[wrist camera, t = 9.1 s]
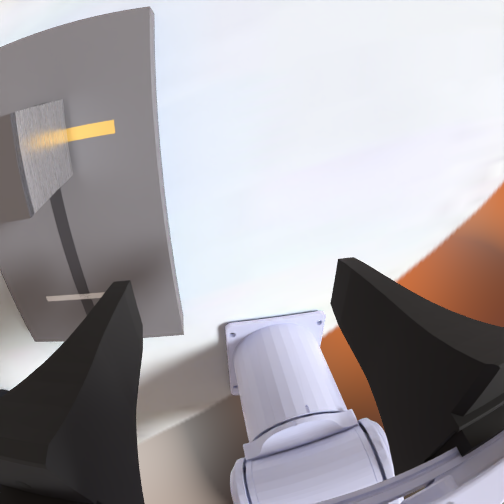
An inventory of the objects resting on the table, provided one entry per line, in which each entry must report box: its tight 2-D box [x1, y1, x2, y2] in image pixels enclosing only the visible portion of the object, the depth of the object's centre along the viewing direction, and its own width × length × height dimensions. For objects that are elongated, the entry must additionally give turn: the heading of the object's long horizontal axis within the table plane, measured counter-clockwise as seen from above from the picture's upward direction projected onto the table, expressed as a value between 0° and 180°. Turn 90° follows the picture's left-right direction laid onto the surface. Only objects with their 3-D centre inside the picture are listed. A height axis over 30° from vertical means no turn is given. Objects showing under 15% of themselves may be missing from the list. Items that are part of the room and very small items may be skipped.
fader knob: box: [0, 99, 73, 224], centre depth 11 cm, size 4×3×5 cm
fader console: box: [0, 7, 184, 342], centre depth 16 cm, size 20×12×2 cm, turn 0°
